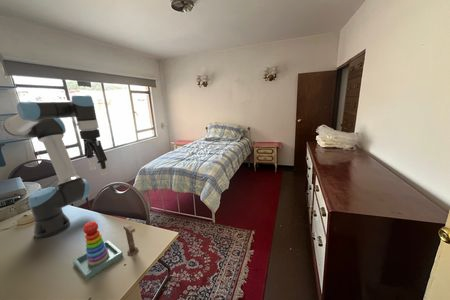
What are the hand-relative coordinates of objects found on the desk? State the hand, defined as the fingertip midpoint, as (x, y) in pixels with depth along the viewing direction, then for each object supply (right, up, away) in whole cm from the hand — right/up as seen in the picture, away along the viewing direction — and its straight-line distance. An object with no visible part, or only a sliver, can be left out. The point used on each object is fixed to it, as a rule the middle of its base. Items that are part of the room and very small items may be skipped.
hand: (98, 172), depth 93 cm
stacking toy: (+7, -37, -10) cm, 39 cm away
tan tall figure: (+20, -36, -6) cm, 42 cm away
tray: (+7, -38, -10) cm, 40 cm away
